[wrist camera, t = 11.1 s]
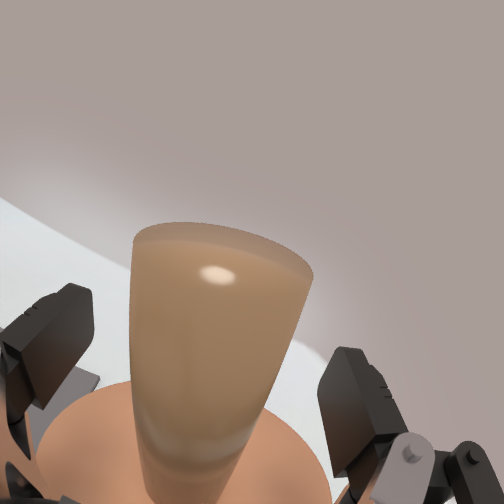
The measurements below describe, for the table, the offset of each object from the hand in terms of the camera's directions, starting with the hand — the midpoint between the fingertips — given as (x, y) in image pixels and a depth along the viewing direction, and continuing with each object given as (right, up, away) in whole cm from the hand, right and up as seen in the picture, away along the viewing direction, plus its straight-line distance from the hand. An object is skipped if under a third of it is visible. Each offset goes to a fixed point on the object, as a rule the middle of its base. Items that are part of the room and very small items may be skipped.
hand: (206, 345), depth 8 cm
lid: (-2, -8, +1) cm, 8 cm away
